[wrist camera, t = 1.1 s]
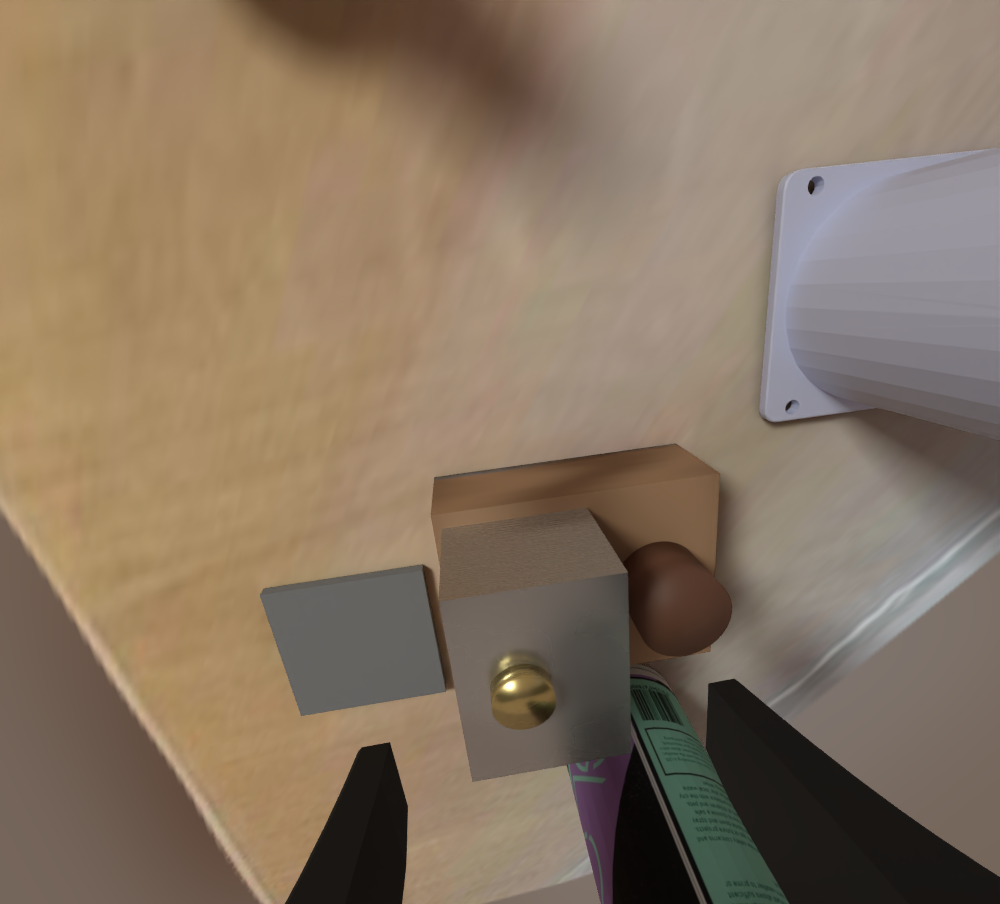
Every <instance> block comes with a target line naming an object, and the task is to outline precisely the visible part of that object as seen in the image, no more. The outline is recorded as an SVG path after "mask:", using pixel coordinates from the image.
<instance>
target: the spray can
mask: <svg viewBox="0 0 1000 904" xmlns="http://www.w3.org/2000/svg"><path fill="white" fill-rule="evenodd" d="M630 705H631V754H625V755H620V756H614V757H608V758H603V759H597V760H592V761H586V762H581V763H575V764H569V765H567V767H568V772H569V776H570V780H571V784H572V788H573V792H574V796H575V800H576V804H577V808H578V812H579V816H580V821H581V825H582V829H583V833H584V837H585V841H586V845H587V849H588V853H589V857H590V861H591V865H592V870H593V874H594V878H595V881H596V886H597V890H598V893H599V898H600V902H601V904H789V902H788V901H787V899H786V897H785V895H784V894H783V892H782V890H781V889H780V887H779V885H778V883H777V882H776V880H775V878H774V877H773V875H772V873H771V871H770V870H769V868H768V866H767V865H766V863H765V861H764V859H763V858H762V856H761V854H760V853H759V851H758V849H757V847H756V846H755V844H754V842H753V840H752V839H751V837H750V835H749V834H748V832H747V830H746V828H745V827H744V825H743V823H742V821H741V820H740V818H739V816H738V814H737V813H736V811H735V809H734V807H733V806H732V804H731V802H730V800H729V798H728V796H727V794H726V792H725V790H724V787H723V785H722V783H721V781H720V779H719V777H718V775H717V772H716V770H715V768H714V766H713V763H712V761H711V760H710V758H709V756H708V754H707V752H706V751H705V749H704V747H703V745H702V743H701V742H700V740H699V738H698V736H697V734H696V733H695V731H694V729H693V727H692V725H691V724H690V722H689V720H688V718H687V716H686V715H685V713H684V711H683V709H682V707H681V706H680V704H679V702H678V700H677V698H676V697H675V695H674V693H673V691H672V689H671V688H670V687H669V685H668V683H667V682H666V680H665V679H664V678H663V677H662V675H660V674H659V673H658V672H657V671H655V670H654V669H652V668H650V667H647V666H645V665H641V664H633V665H630Z"/></svg>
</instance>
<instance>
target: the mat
mask: <svg viewBox="0 0 1000 904" xmlns="http://www.w3.org/2000/svg"><path fill="white" fill-rule="evenodd" d="M260 597H261V600H262V603H263V606H264V609H265V612H266V615H267V618H268V621H269V623H270V626H271V629H272V632H273V635H274V638H275V641H276V644H277V647H278V650H279V653H280V656H281V658H282V661H283V664H284V667H285V670H286V673H287V676H288V679H289V682H290V685H291V688H292V690H293V693H294V696H295V699H296V702H297V705H298V708H299V711H300V714H301V716H304V715H310V714H316V713H322V712H328V711H334V710H340V709H346V708H352V707H357V706H363V705H369V704H375V703H381V702H387V701H393V700H399V699H405V698H411V697H417V696H423V695H429V694H435V693H441V692H446V681H445V676H444V671H443V666H442V661H441V656H440V650H439V645H438V640H437V635H436V630H435V625H434V620H433V615H432V609H431V604H430V599H429V594H428V589H427V584H426V579H425V573H424V568H423V565H417V566H410V567H403V568H397V569H390V570H384V571H377V572H370V573H364V574H357V575H351V576H344V577H337V578H331V579H324V580H317V581H311V582H304V583H298V584H291V585H284V586H278V587H271V588H265V589H263V591H262V592H261V594H260Z"/></svg>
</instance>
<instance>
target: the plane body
mask: <svg viewBox="0 0 1000 904" xmlns="http://www.w3.org/2000/svg"><path fill="white" fill-rule="evenodd" d="M719 485H720V473H719V472H717V471H716V470H714V469H713V468H711V467H710V466H708V465H707V464H705V463H704V462H702V461H701V460H699V459H698V458H696V457H695V456H693V455H692V454H691V453H689V452H688V451H686V450H685V449H683V448H682V447H680V446H679V445H677V444H669V445H662V446H655V447H648V448H641V449H634V450H627V451H620V452H612V453H605V454H598V455H591V456H584V457H577V458H570V459H563V460H556V461H548V462H541V463H534V464H527V465H520V466H513V467H506V468H499V469H491V470H484V471H477V472H470V473H463V474H456V475H449V476H442V477H435V478H434V487H433V498H432V509H431V519H432V524H433V530H434V536H435V541H436V547H437V552H438V558H439V563H440V560H441V535H442V529H445V528H451V527H458V526H465V525H472V524H479V523H485V522H492V521H499V520H506V519H513V518H519V517H526V516H533V515H540V514H547V513H553V512H560V511H567V510H574V509H581V508H588V510H589V512H590V513H591V515H592V516H593V518H594V519H595V521H596V523H597V524H598V526H599V527H600V529H601V531H602V532H603V534H604V535H605V537H606V538H607V540H608V542H609V543H610V545H611V546H612V548H613V550H614V551H615V553H616V554H617V556H618V557H619V559H620V561H621V562H622V564H623V565H624V567H625V569H626V570H627V572H628V603H629V654H630V665H633V664H639V663H645V662H651V661H657V660H663V659H669V658H675V657H681V656H687V655H693V654H699V653H705V652H710V648H711V644H713V643H714V642H715V641H716V640H717V639H718V638H719V637H720V636H721V635H722V634H723V632H724V631H725V629H726V628H727V626H728V624H729V621H730V618H731V613H732V604H731V599H730V596H729V595H728V593H727V591H726V590H725V589H724V588H723V587H722V585H721V584H720V583H719V582H718V581H717V580H716V579H715V578H714V576H715V558H716V540H717V521H718V503H719Z"/></svg>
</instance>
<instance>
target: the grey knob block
mask: <svg viewBox="0 0 1000 904" xmlns="http://www.w3.org/2000/svg"><path fill="white" fill-rule="evenodd" d="M439 605H440V611H441V616H442V621H443V627H444V632H445V637H446V643H447V648H448V653H449V659H450V664H451V669H452V675H453V680H454V686H455V691H456V696H457V702H458V707H459V712H460V718H461V723H462V728H463V734H464V739H465V744H466V750H467V755H468V760H469V766H470V771H471V776H472V782H475V781H480V780H486V779H491V778H497V777H503V776H508V775H514V774H519V773H525V772H530V771H536V770H542V769H547V768H553V767H558V766H564V765H569V764H575V763H581V762H586V761H592V760H597V759H603V758H608V757H614V756H620V755H625V754H631V705H630V654H629V603H628V572H627V570H626V569H625V567H624V565H623V564H622V562H621V561H620V559H619V557H618V556H617V554H616V553H615V551H614V550H613V548H612V546H611V545H610V543H609V542H608V540H607V538H606V537H605V535H604V534H603V532H602V531H601V529H600V527H599V526H598V524H597V523H596V521H595V519H594V518H593V516H592V515H591V513H590V512H589V510H588V508H581V509H574V510H567V511H560V512H553V513H547V514H540V515H533V516H526V517H519V518H513V519H506V520H499V521H492V522H485V523H479V524H472V525H465V526H458V527H451V528H445V529H442V535H441V560H440V586H439Z"/></svg>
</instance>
